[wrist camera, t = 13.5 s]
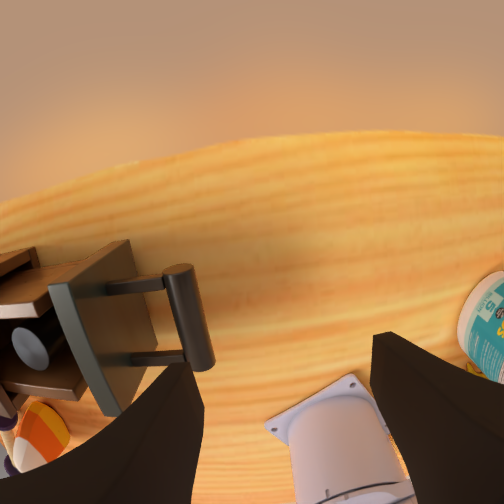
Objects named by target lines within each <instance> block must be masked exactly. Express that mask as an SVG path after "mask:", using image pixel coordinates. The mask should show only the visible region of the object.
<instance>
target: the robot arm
mask: <svg viewBox="0 0 504 504" xmlns="http://www.w3.org/2000/svg"><path fill="white" fill-rule="evenodd" d="M351 383H354V384H352V385H350V384H351ZM370 386H371V389H372V392H373V395H374V398H375V399H374V398H373V397H372V396H371V394H370V393H369V392H368V391H367V389H366V388H365V387H364V386H363V385H362V383H361V382H360V381H359V380H358V378H357V377H356V376H355V375H354V374H347V375H345V376H344V377H342V378H340V379H339V380H337V381H336V382H334V383H332V384H331V385H329V386H328V387H326V388H324V389H323V390H321V391H319V392H318V393H316V394H314V395H313V396H311V397H309V398H308V399H306V400H304V401H302V402H301V403H299V404H297V405H295V406H293V407H292V408H290V409H288V410H286V411H284V412H282V413H280V414H279V415H277V416H275V417H273V418H271V419H269V420H267V421H266V422H265V423H264V427H265V429H266V430H268V431H269V432H270V433H272V434H273V435H274V436H276V437H277V438H278V439H280V440H281V441H282V442H284V443H285V444H286V445H288V446H289V449H290V457H291V465H292V473H293V481H294V489H295V497H296V504H504V384H501V383H498V382H495V381H492V380H489V379H486V378H483V377H480V376H477V375H475V374H472V373H470V372H467V371H465V370H463V369H461V368H459V367H456V366H454V365H452V364H450V363H448V362H446V361H444V360H442V359H440V358H438V357H436V356H434V355H433V354H431V353H429V352H427V351H425V350H423V349H422V348H420V347H418V346H416V345H415V344H413V343H411V342H409V341H408V340H406V339H404V338H402V337H401V336H399V335H397V334H395V333H393V332H391V331H390V332H385V333H381V334H377V335H373V347H372V362H371V374H370ZM204 408H205V407H204V404H203V402H202V399H201V396H200V393H199V390H198V387H197V383H196V380H195V377H194V374H193V371H192V368H191V364H190V362H178V363H171V364H170V365H169V366H168V367H167V368H166V369H165V370H164V371H163V372H162V373H161V374H160V375H159V376H158V377H157V378H156V380H155V381H154V382H153V383H152V384H151V385H150V386H149V387H148V388H147V389H146V390H145V391H144V392H143V393H142V394H141V395H140V396H139V397H138V398H137V399H136V400H135V401H134V402H133V403H132V404H131V405H130V406H129V407H128V408H127V409H126V410H125V411H124V412H122V413H121V414H120V415H119V416H118V417H117V418H116V419H115V420H114V421H113V422H111V423H110V424H109V425H108V426H106V427H105V428H104V429H103V430H101V431H100V432H99V433H97V434H96V435H95V436H93V437H92V438H90V439H89V440H87V441H86V442H85V443H83V444H81V445H80V446H78V447H76V448H75V449H73V450H71V451H69V452H68V453H66V454H64V455H63V456H61V457H59V458H57V459H55V460H53V461H51V462H49V463H46V464H44V465H42V466H39V467H37V468H35V469H32V470H29V471H27V472H24V473H20V474H17V475H14V476H10V477H7V478H3V479H0V504H191V496H192V489H193V484H194V478H195V473H196V468H197V463H198V458H199V453H200V448H201V442H202V437H203V428H204ZM390 433H391V435H392V437H393V439H394V441H395V443H396V445H397V447H398V449H399V451H400V453H401V455H402V457H403V460H404V462H405V464H406V467H407V470H408V473H409V476H410V479H411V481H410V480H409V479H406V476H405V474H404V471H403V469H402V467H401V464H400V462H399V460H398V457H397V455H396V453H395V451H394V448H393V446H392V444H391V441H390V439H389V437H388V435H389V434H390ZM411 482H412V484H411ZM412 485H413V486H412Z"/></svg>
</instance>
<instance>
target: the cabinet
mask: <svg viewBox="0 0 504 504" xmlns="http://www.w3.org/2000/svg"><path fill="white" fill-rule="evenodd" d="M35 268H40V265H39V262H38V258H37V255H36V251H35V247H29V248H25V249H21V250H17V251H12V252H8V253H4V254H0V277H2V276H3V275H5V274H8V273H13V272H19V271H24V270H30V269H35ZM29 396H30V395H27V394H21V393H16V392H11V391H6V390H4V389H3V387H2V385H1V384H0V415H1V416H4V417H7V418H11V419H12V418H13V416H14V415H15V414H16V412H17V411H18V410H19V409H20V407H21V406H22V405H23V403H24V402H25V401H26V400H27V398H28V397H29Z"/></svg>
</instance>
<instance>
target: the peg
mask: <svg viewBox="0 0 504 504" xmlns="http://www.w3.org/2000/svg"><path fill="white" fill-rule="evenodd" d="M12 343H13V346H14V349H15V351H16V353H17V354H18V356H19V357H20V358H21V360H22V361H23V362H24V363H25V364H27V365H28V366H29V367H31V368H33V369H35V370H38V371H43V370H46V369H47V368H48V367H49V366H50V365H51V363H52V362H53V361H54V360H55V359H56V358H57V356H58V355H59V354H60V353H61V352H62V351H63V349H64V348H65V347H66V346H67V345H68V341H67V339H66V336H65V334H64V332H63V329H62V326H61V324H60V321H59V319H58V316H57V313H56V311H55V308H54V305H53V306H52V307H51V308H50V309H48V310H47V311H46V312H45V313H44V314H43V315H41V316H40V317H39V318H27V319H26V320H24V321H23V322H22V323H21V324H20V325H18V326H17V327H16V328H15V329H14V330H13V332H12Z"/></svg>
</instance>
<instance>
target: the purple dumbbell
mask: <svg viewBox="0 0 504 504" xmlns="http://www.w3.org/2000/svg"><path fill="white" fill-rule="evenodd" d="M17 421H18V414H17V412H16V414H15V415H14V416H13V418H12V419H11V418H7V417H4V416H1V415H0V433H1V436H2V439H3V442H4V444H5V447H6V449H7V452H8V455H7V456H6V458H5V460H4V467H5V470H6V472H7V473H8V474H9V475H10V476H14V475H17V474H20V473H21V472H20V471H19V470H18V469H17V468H16V466H15V464H14V461H13V447H14V442H15V437H14V434H13V431H12V429H13V428H14V427H15V425H16V423H17Z"/></svg>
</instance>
